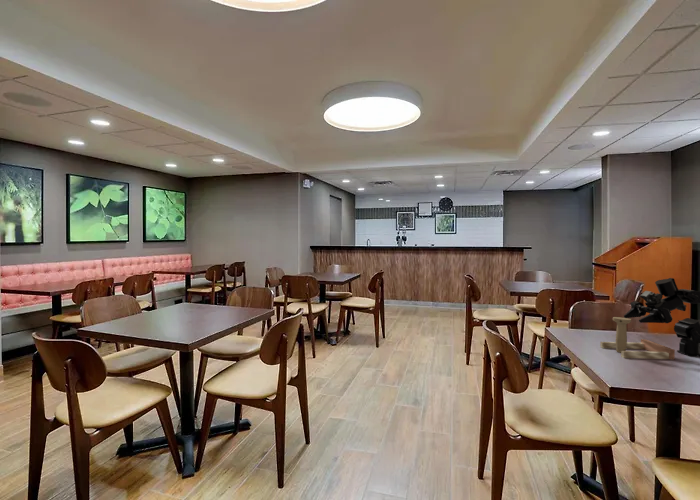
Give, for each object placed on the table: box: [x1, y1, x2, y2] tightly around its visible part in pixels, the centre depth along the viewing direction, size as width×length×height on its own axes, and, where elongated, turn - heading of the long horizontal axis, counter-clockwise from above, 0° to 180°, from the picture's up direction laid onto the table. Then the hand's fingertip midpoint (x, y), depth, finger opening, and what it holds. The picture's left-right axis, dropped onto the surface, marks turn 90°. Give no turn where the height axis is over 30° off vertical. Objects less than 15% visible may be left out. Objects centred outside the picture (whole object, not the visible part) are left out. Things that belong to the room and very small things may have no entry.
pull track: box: [599, 338, 676, 360], centre depth 159 cm, size 20×16×4 cm
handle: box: [612, 316, 632, 354], centre depth 159 cm, size 5×6×15 cm
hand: (631, 319), depth 159 cm, fingers open, 9 cm apart
